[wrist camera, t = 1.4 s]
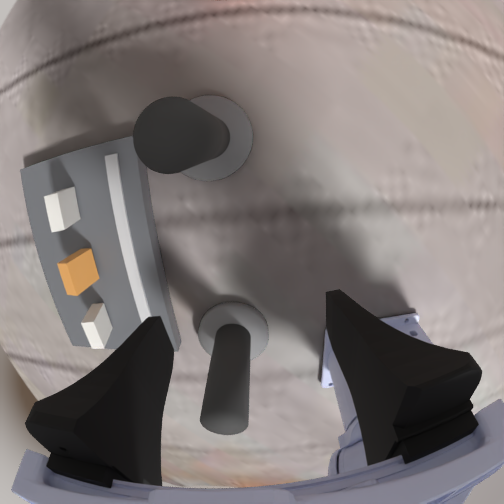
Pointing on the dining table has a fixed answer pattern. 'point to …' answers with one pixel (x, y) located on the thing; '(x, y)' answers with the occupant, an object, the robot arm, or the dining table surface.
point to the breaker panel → (102, 239)
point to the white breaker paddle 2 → (97, 326)
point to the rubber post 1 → (193, 137)
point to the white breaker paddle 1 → (62, 209)
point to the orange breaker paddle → (78, 271)
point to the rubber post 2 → (230, 364)
